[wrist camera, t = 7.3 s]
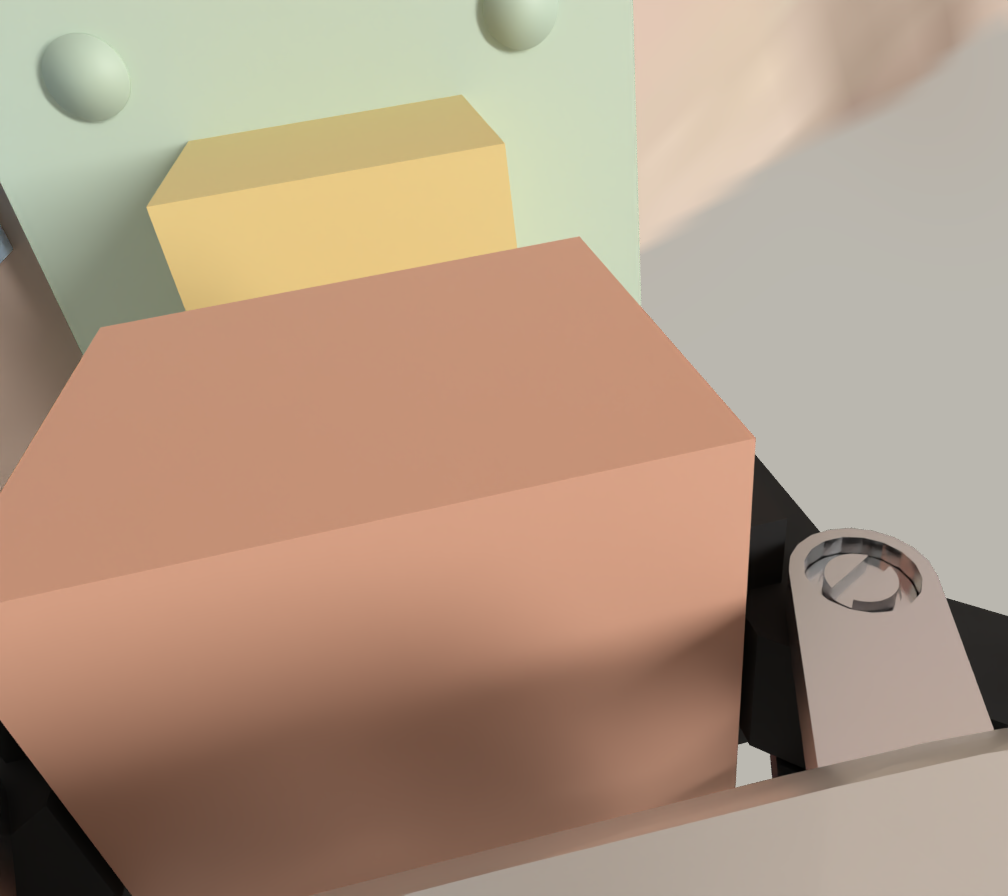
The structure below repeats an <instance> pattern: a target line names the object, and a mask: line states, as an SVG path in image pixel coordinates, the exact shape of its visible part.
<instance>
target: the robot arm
mask: <svg viewBox="0 0 1008 896" xmlns="http://www.w3.org/2000/svg"><path fill="white" fill-rule="evenodd" d="M746 742H748V743H749V745H751V746H753V747H755V748H758V749H760V750H762V751H765V752H767V753H769V754H770V760H771V772H772V779H769V780H765V781H760V782H756V783H752V784H748V785H744V786H740V787H737V788H732V789H728V790H724V791H720V792H716V793H712V794H708V795H704V796H700V797H696V798H692V799H688V800H684V801H680V802H676V803H672V804H668V805H664V806H660V807H656V808H652V809H648V810H644V811H640V812H636V813H632V814H628V815H624V816H620V817H616V818H612V819H608V820H604V821H600V822H596V823H592V824H588V825H584V826H580V827H576V828H572V829H568V830H564V831H560V832H556V833H552V834H548V835H544V836H540V837H537V838H533V839H529V840H525V841H521V842H517V843H513V844H509V845H505V846H501V847H497V848H493V849H489V850H486V851H482V852H478V853H474V854H470V855H466V856H462V857H458V858H454V859H450V860H446V861H442V862H438V863H435V864H431V865H427V866H423V867H419V868H415V869H411V870H407V871H403V872H399V873H395V874H391V875H387V876H384V877H380V878H376V879H372V880H368V881H364V882H360V883H356V884H352V885H349V886H345V887H341V888H337V889H333V890H329V891H325V892H321V893H317V894H313V895H310V896H1008V616H1005V615H1002V614H999V613H995V612H992V611H988V610H985V609H982V608H979V607H975V606H971V605H968V604H964V603H961V602H958V601H955V600H951V599H948V598H946V597H945V594H944V591H943V588H942V586H941V583H940V580H939V578H938V575H937V573H936V572H935V570H934V569H933V567H932V565H931V564H930V562H929V561H928V560H927V559H926V558H925V557H924V556H923V555H922V554H921V553H919V552H918V551H917V550H916V549H915V548H914V547H912V546H910V545H908V544H906V543H904V542H903V541H900V540H899V539H897V538H895V537H892V536H889V535H886V534H883V533H879V532H876V531H872V530H864V529H856V528H842V529H830V530H826V531H823V532H820V531H819V530H818V529H817V528H816V527H815V525H814V524H813V523H812V522H811V521H810V519H809V518H808V517H807V516H806V515H805V513H804V512H803V511H802V510H801V509H800V507H799V506H798V505H797V504H796V503H795V501H794V500H793V499H792V498H791V497H790V495H789V494H788V493H787V492H786V491H785V490H784V488H783V487H782V486H781V485H780V484H779V483H778V481H777V480H776V479H775V478H774V476H773V475H772V474H771V473H770V472H769V470H768V469H767V468H766V467H765V466H764V465H763V463H762V462H761V461H760V460H759V459H758V457H757V456H756V455H755V459H754V476H753V493H752V510H751V528H750V545H749V562H748V579H747V596H746V613H745V631H744V648H743V665H742V682H741V699H740V716H739V734H738V744H742V743H746ZM0 896H132V895H131V893H130V892H129V891H128V889H127V888H126V887H125V886H124V884H123V883H122V882H121V880H120V879H119V878H118V876H117V875H116V874H115V872H114V871H113V870H112V868H111V867H110V866H109V864H108V863H107V862H106V860H105V859H104V858H103V856H102V855H101V854H100V852H99V851H98V850H97V848H96V847H95V846H94V844H93V843H92V842H91V840H90V839H89V838H88V836H87V835H86V834H85V832H84V831H83V830H82V828H81V827H80V826H79V824H78V823H77V822H76V820H75V819H74V818H73V816H72V815H71V814H70V812H69V811H68V810H67V808H66V807H65V806H64V804H63V803H62V802H61V800H60V799H59V798H58V796H57V795H56V794H55V792H54V791H53V790H52V788H51V787H50V786H49V784H48V783H47V782H46V780H45V779H44V778H43V776H42V775H41V774H40V772H39V771H38V770H37V768H36V767H35V766H34V764H33V763H32V762H31V760H30V759H29V758H28V756H27V755H26V754H25V752H24V751H23V750H22V748H21V747H20V746H19V744H18V743H17V742H16V740H15V739H14V738H13V736H12V735H11V734H10V732H9V731H8V730H7V728H6V727H5V726H4V724H3V723H2V722H1V720H0Z"/></svg>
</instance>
